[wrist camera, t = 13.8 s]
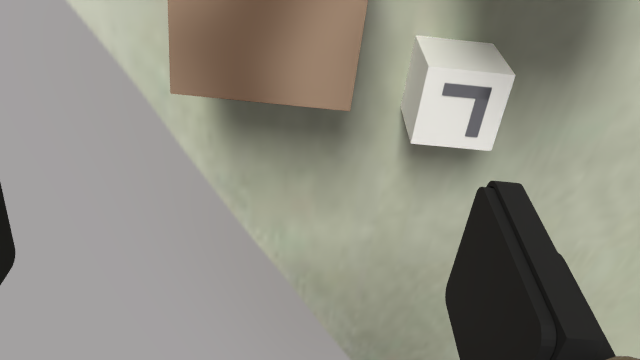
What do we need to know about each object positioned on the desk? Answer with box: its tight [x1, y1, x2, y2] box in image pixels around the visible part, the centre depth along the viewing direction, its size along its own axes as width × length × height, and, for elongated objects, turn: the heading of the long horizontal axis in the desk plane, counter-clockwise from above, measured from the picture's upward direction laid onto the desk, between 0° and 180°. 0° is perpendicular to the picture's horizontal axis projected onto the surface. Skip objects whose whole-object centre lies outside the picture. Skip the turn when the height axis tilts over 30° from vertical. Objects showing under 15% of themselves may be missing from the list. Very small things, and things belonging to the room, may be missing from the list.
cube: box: [400, 35, 516, 151], centre depth 29 cm, size 4×4×4 cm
